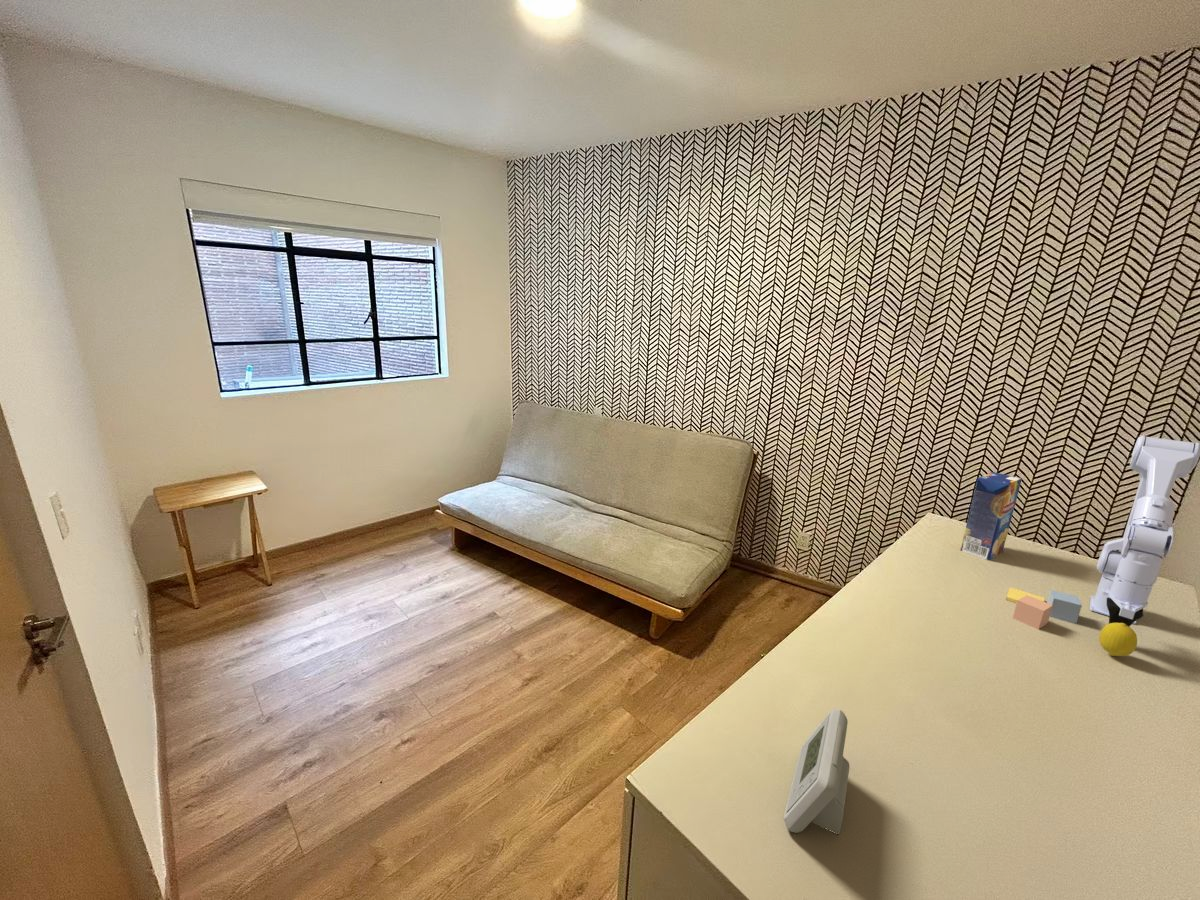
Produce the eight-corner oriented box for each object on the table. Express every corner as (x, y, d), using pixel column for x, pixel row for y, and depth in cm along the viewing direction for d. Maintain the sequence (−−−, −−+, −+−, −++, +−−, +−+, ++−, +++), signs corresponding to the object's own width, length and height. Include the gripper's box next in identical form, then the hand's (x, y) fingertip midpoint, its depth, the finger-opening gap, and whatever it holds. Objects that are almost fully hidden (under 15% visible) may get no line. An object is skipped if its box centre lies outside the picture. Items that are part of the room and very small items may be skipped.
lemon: (1137, 666, 104) (1150, 633, 102) (1107, 662, 105) (1118, 629, 103) (1117, 649, 109) (1128, 617, 107) (1087, 645, 110) (1098, 614, 108)
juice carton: (988, 560, 149) (1008, 485, 142) (960, 550, 154) (977, 477, 148) (1002, 550, 155) (1022, 478, 149) (975, 541, 161) (992, 471, 155)
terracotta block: (1021, 612, 122) (1027, 594, 121) (1047, 623, 118) (1052, 605, 117) (1012, 618, 120) (1017, 600, 118) (1038, 629, 115) (1043, 610, 114)
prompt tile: (1009, 589, 132) (1010, 587, 132) (1043, 600, 128) (1044, 597, 127) (1005, 599, 128) (1006, 596, 127) (1041, 611, 123) (1042, 608, 123)
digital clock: (804, 746, 82) (813, 692, 79) (863, 781, 76) (875, 724, 73) (761, 815, 70) (770, 755, 67) (827, 862, 64) (839, 798, 62)
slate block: (1045, 607, 125) (1050, 589, 124) (1072, 614, 122) (1077, 596, 121) (1048, 616, 121) (1053, 598, 120) (1075, 623, 118) (1081, 605, 117)
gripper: (1108, 561, 115) (1091, 612, 119) (1108, 583, 105) (1089, 638, 109) (1152, 572, 110) (1133, 625, 114) (1156, 596, 100) (1135, 654, 104)
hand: (1115, 633), depth 111 cm, fingers closed
